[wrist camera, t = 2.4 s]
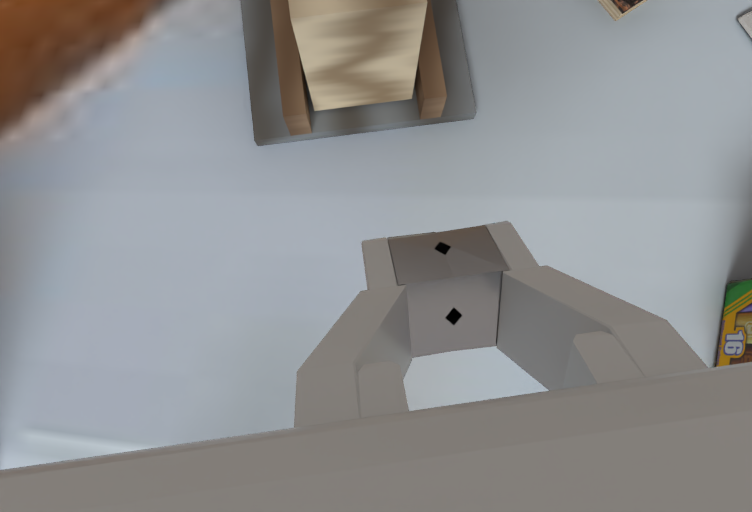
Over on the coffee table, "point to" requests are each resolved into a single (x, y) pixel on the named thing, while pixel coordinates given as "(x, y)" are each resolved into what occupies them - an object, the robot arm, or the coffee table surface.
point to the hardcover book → (620, 7)
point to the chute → (300, 122)
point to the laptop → (747, 22)
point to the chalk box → (736, 324)
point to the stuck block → (358, 49)
